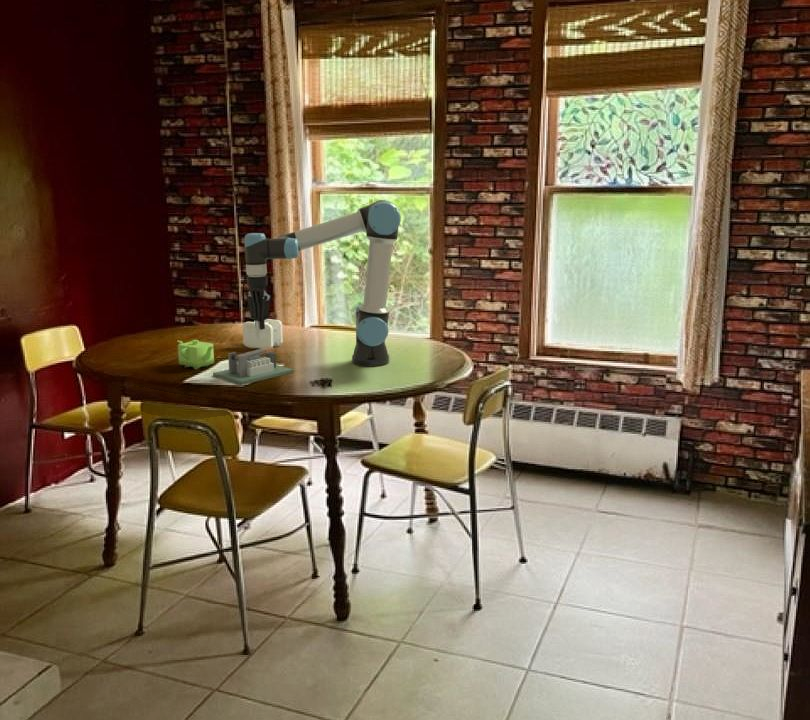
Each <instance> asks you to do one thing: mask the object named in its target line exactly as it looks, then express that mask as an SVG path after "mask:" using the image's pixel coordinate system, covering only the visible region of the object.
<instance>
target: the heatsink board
mask: <svg viewBox="0 0 810 720" xmlns="http://www.w3.org/2000/svg"><path fill="white" fill-rule="evenodd" d="M227 354H228V355H227V357H228V369H225V370H220V371H215V372H213V373H212V376H213V377H215V378H218V379H221V378H222V379H223V380H225V381H229V382H231V381H232V383H234V382H235V384H237V385H238V384H239V385H241V386H242V385H247V384H251V383H255V382H259V381H265V380H268V379H271V378H272V379H273V378H276V377H279V376H284V375H288V374H292V373H294V369H293V368H289V367H285V366H283V365H278V364H277V355H276V354H277V353H276V352H269V353H266V354H265V356H263V355H259V356H255V357H251V358H248V359H247V356H246V355H242V356H238V358H239V361H237V360H233V359H232V355H237V352H236V351H233V352H228V353H227Z"/></svg>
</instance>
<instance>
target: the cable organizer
mask: <svg viewBox="0 0 810 720" xmlns="http://www.w3.org/2000/svg"><path fill="white" fill-rule="evenodd" d="M264 323H265V329H264V332H265V337H263V338H257V335H256V327H255V326H256V325H255V320H254V321H246V322H245V321H244V322H243V323H242V342H243V345H244V347H246V348H249V349H261V348H265V347H272V348H274V347H278V346H280V345H282V344H283V337H284V336H283V323H282V321H281V320H279V319H270V318H268V319H266V320H265V321H264Z"/></svg>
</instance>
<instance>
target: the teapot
mask: <svg viewBox="0 0 810 720" xmlns="http://www.w3.org/2000/svg"><path fill="white" fill-rule="evenodd" d="M177 343H178V344H177V355H178V365H180V366H184V368H186V367H188V368H191V367H192V368H193V369H194V370H199V369H200V368H202V367H209V366H210V365H212V364H215V355H214V352H215V351H214V347H215V346H214V343H212V342H204V341H199V340H198V339H193V340H191V341H188V342H183V340H177Z"/></svg>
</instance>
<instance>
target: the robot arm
mask: <svg viewBox="0 0 810 720" xmlns="http://www.w3.org/2000/svg"><path fill="white" fill-rule="evenodd" d="M401 220H402V217H401V213H400V210H399V209H398V206H396V204H394V203H392V202H390V201H389V200H385V199H380V200H376V201H375V202H372V203H370V204H369V205H365V206H363V207H361V208H357V210H356V212H353V213H350V214H347V215H343V216H341V217H338V218H334V219H332V220H329V221H324V222H321V223H318V224H314V225H312V226H309V227H305V228H301V229H300V230H299V229H298V230H295V231H293V232H290V233H286V234H280V235H279V236H278V237H276V238H267V237H266V235H265V233H263V232H262V233H261V232H260V233H258V232H251V233H247V234H245V236H244V254H245V255H244V256H245V269H246V270H245V271H246V275H247V277H246V282H247V284H246V285H247V287H249V288H248V292H245V297H246V300H247V304H248V309H249V313H250V314H249V315H250V319H254V320H255V325H256V326H255V327H256V335H257V338H263V337H265V332H264V329H265V323H264V321H265V320H266V319H269V314H270V303H271V300H272V295H271V294H268V293H267V292H268V291H267V288H266V287H267V286H268V284H269V283H268V282H269V281H268V276H267V274H268V272H267V271H268V269H267V268H268V267H267V266H268V265H267V260H280V259H281V260H286V259H287V260H292V259H297V258H299V252H300V251H303V250H306V249H310V248H312V247H317V246H319V245H323V244H326V243H329V242H330V243H331V242H332V241H336V240H339V239H343V238H345V237H349V236H352V235H355V234H359V233H362V232H363V233H365V234H366V235H365V237H366V238H367V239H368V241H369V246H368V257H367V265H366V276H365V283H364V285H365V287H364V296H363V303H362V305H359V306H356V308H355V313H354V314H355V345H354V350H353V354H352V355H351V363H352V364H354V365H356V366H362V367H378V366H379V367H380V366H384V365H387V363H388V364H389V363H390V355H389V353H388V349H387V344H386V339H387V337H388V336H389V326H388V325H389V319H390V317H389V316H390V310H389V309H388V307H387V300H388V299H387V297H388V289H389V279H390V271H391V262H392V261H391V260H392V252H393V244H394V243H396V242H397V240H398V236H399V228H400V224H401Z"/></svg>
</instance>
